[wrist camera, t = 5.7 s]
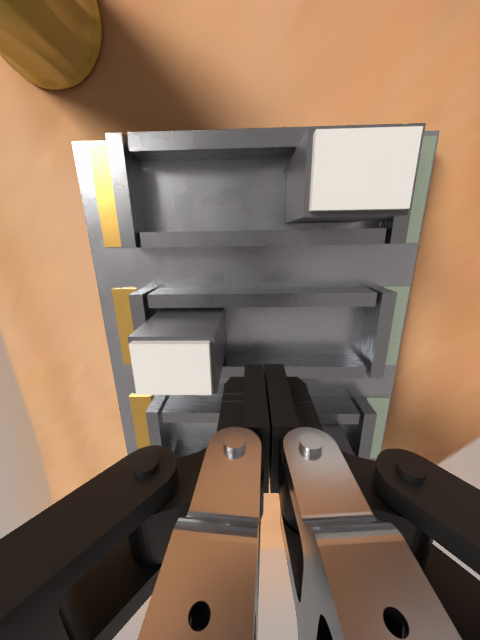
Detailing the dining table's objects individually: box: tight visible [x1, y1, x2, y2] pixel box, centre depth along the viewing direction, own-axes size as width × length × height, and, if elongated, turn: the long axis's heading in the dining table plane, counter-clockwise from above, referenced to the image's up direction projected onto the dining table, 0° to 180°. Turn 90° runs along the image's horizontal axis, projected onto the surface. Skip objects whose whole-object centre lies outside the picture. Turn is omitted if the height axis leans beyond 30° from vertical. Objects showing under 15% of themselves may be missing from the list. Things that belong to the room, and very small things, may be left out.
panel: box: [72, 123, 439, 460], centre depth 18 cm, size 22×20×4 cm
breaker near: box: [285, 124, 423, 223], centre depth 12 cm, size 3×4×6 cm
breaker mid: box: [128, 308, 226, 395], centre depth 15 cm, size 3×4×6 cm
